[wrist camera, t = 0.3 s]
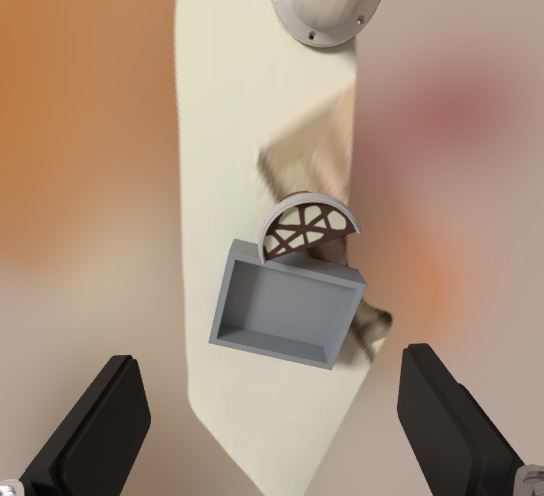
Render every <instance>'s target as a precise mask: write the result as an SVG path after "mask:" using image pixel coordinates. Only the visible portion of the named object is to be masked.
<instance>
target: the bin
mask: <svg viewBox="0 0 544 496" xmlns="http://www.w3.org/2000/svg"><path fill="white" fill-rule="evenodd" d="M366 286H367V284H366V282H365V281H364V279H363V278H362V276H361V274H360V272H359V271H358V269H354V268H350V267H346V266H342V265H338V264H334V263H330V262H326V261H322V260H318V259H314V258H310V257H306V256H302V255H298V254H294V253H289V254H286V255H283V256H280V257H277V258H274V259H272V260H268V261H266V264H265V266H264V264H262V262H261V259H260V256H259V251H258V244H254V243H250V242H246V241H242V240H238V239H234V241H233V243H232V246H231V248H230V250H229V255H228V259H227V263H226V268H225V272H224V277H223V281H222V285H221V290H220V294H219V299H218V303H217V307H216V312H215V316H214V321H213V325H212V329H211V334H210V338H209V343H211V344H215V345H220V346H224V347H229V348H233V349H238V350H242V351H247V352H251V353H256V354H260V355H265V356H269V357H274V358H278V359H283V360H287V361H292V362H296V363H301V364H305V365H310V366H314V367H319V368H323V369H328V370H332V368H333V366H334V363H335V361H336V358H337V356H338V354H339V351H340V349H341V346H342V344H343V341H344V339H345V337H346V334H347V332H348V329H349V327H350V325H351V322H352V320H353V317H354V315H355V312H356V310H357V308H358V305H359V303H360V300H361V298H362V296H363V293H364V291H365V288H366Z"/></svg>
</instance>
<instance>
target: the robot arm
mask: <svg viewBox="0 0 544 496" xmlns="http://www.w3.org/2000/svg"><path fill="white" fill-rule="evenodd" d="M271 1H272V4H273V8H274V11H275V13H276V15H277V17H278V19H279V21H280V22H281V24H282V25H283V27H284V28H285V30H286V31H287V32H288V33H289V34H291V35H292V36H293V37H294V38H295V39H297V40H298V41H300V42H302V43H304V44H307V45H309V46H313V47H321V48H324V47H333V46H336V45H339V44H342V43H344V42H346V41H348V40H350V39H351V38H353V37H354V36H355V35H356V34H358V33H359V32H360V31H361V30H362V29H363V28H364V27H365V25H366V24H367V23H368V22H369V20H370V19H371V17H372V16H373V14H374V13H375V11H376V9H377V7H378V5H379V3H380V0H271ZM357 20H359V21H360V22H361V24H357ZM310 36H313V37H314V39H313V40H311V39H310V38H309V37H310ZM397 413H398V417H399V420H400V422H401V425H402V427H403V429H404V431H405V434H406V436H407V438H408V440H409V443H410V445H411V447H412V449H413V452H414V454H415V456H416V458H417V461H418V463H419V465H420V467H421V470H422V472H423V474H424V476H425V479H426V481H427V483H428V485H429V488H430V490H431V492H432V494H433V496H544V466H539V465H533V464H532V465H525V464H524V462H523V461H522V460H521V459H520V457H519V456H518V455H517V453H516V452H515V451H514V450H513V448H512V447H511V446H510V444H509V443H508V442H507V441H506V439H505V438H504V437H503V435H502V434H501V433H500V432H499V430H498V429H497V428H496V426H495V425H494V424H493V422H492V421H491V420H490V418H489V417H488V416H487V415H486V413H485V412H484V411H483V409H482V408H481V407H480V406H479V404H478V403H477V402H476V400H475V399H474V398H473V396H472V395H471V394H470V393H469V391H468V390H467V389H466V388H465V387H464V386H463V385H462V384H460V383H457V381H456V380H455V379H454V378H453V376H452V375H451V373H449V371H448V370H447V368H446V367H445V366H444V364H443V363H442V362H441V360H440V359H439V358H438V356H437V355H436V354H435V352H434V351H433V350H432V348H431V347H430V346H429V345H428V344H426V343H421V344H409V346H408V348H406V349H404V350H403V355H402V365H401V376H400V385H399V395H398V404H397ZM150 423H151V415H150V411H149V407H148V403H147V399H146V394H145V391H144V386H143V382H142V378H141V374H140V370H139V366H138V362H137V360H136V359H133V358H132V356H131V355H115V356H112V357H111V359H110V360H109V361H108V362H107V364H106V365H105V366H104V368H103V369H102V370H101V372H100V373H99V374H98V375H97V377H96V378H95V379H94V381H93V382H92V383H91V385H90V386H89V387H88V389H87V390H86V391H85V392H84V394H83V395H82V396H81V398H80V399H79V400H78V402H77V403H76V404H75V406H74V407H73V408H72V410H71V411H70V412H69V413H68V415H67V416H66V417H65V419H64V420H63V421H62V423H61V424H60V425H59V427H58V428H57V429H56V431H55V432H54V433H53V434H52V436H51V437H50V438H49V440H48V441H47V443H46V444H45V445H44V446H43V448H42V449H41V450H40V452H39V453H38V454H37V455H36V457H35V458H34V460H33V461H32V462H31V463H30V465H29V466H28V467H27V469H26V470H25V472H24V473H23V475H22V476H21V478H20V479H19V480H16V479H7V480H3V481H0V496H119V495H120V493H121V491H122V489H123V486H124V484H125V482H126V480H127V477H128V475H129V473H130V471H131V468H132V466H133V464H134V462H135V459H136V457H137V455H138V453H139V450H140V448H141V445H142V443H143V441H144V439H145V437H146V434H147V432H148V430H149V427H150Z"/></svg>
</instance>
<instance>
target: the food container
mask: <svg viewBox="0 0 544 496" xmlns="http://www.w3.org/2000/svg"><path fill="white" fill-rule="evenodd" d="M353 232H357V233H358V234H360V232H361V229H360V225H359V223H358V220H357V219H356V217H355V215H354V214H353V213H352V211H351V210H350V209H349V208H348V207H347V206H346V205H345V204H344V203H343V202H341V201H339V200H338V199H336V198H334V197H331V196H329V195H326V194H321V193H312V192H308V191H301V192H295V193H292V194H290V195H288V196H286V197H285V198H283V199H282V200H281V201H280V202H279V203H278V204H277V205H276V206H275V207H274V208H273V209H272V210H271V211H270V212H269V214H268V215H267V216H266V218H265V219H264V221H263V223H262V226H261V228H260V231H259V236H258V251H259V256H260V259H261V262H262V264H264V266H265V264H266V261H268V260H272V259H274V258H277V257H280V256H283V255H286V254H289V253H293V252H296V251H300V250H304V249H307V248H311V247H313V246H316V245H319V244H321V243H324V242H327V241H329V240H332V239H335V238H338V237H341V236H344V235H347V234H350V233H353Z"/></svg>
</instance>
